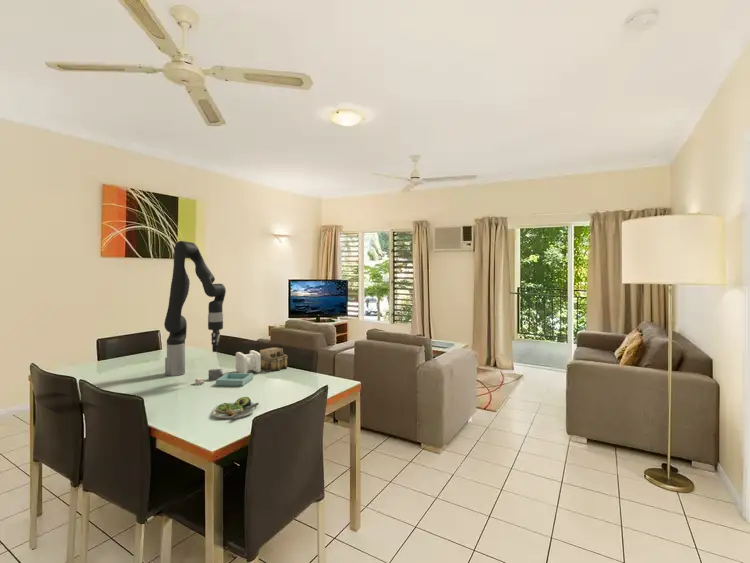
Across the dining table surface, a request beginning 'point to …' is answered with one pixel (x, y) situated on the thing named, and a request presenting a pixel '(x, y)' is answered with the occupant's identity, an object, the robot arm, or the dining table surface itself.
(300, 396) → the dining table surface
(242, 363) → the cable organizer
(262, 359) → the miniature house
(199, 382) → the small plug
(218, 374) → the connector
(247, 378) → the tray
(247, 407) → the salad plate
